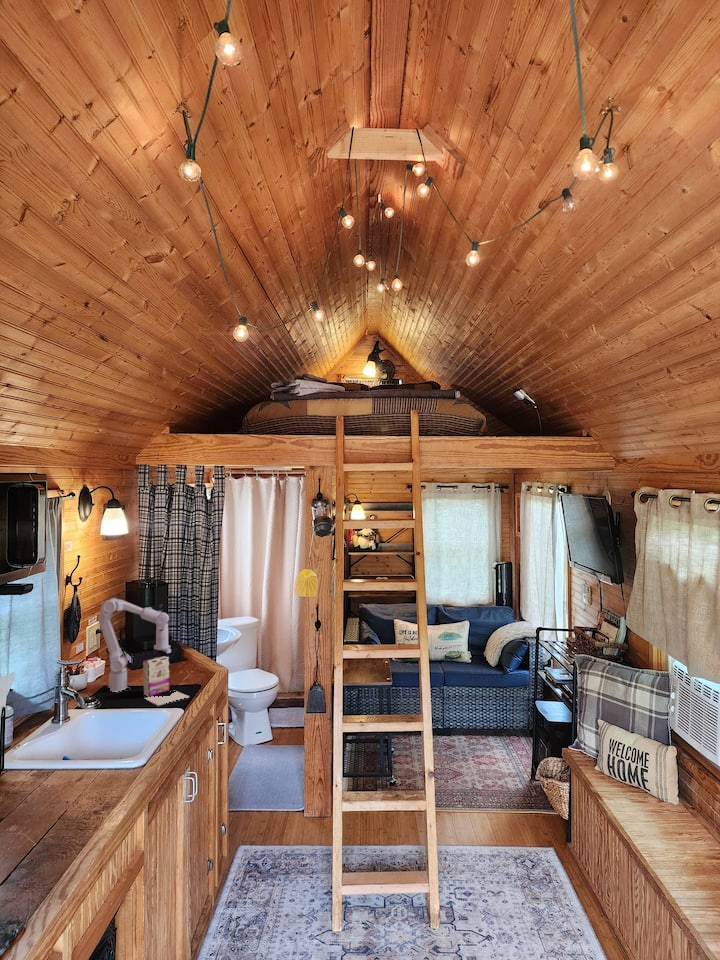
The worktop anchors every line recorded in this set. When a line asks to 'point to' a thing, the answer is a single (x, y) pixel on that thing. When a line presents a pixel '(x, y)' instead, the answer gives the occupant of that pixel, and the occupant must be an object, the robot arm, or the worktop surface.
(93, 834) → the worktop surface
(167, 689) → the candy bar box
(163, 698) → the mat
